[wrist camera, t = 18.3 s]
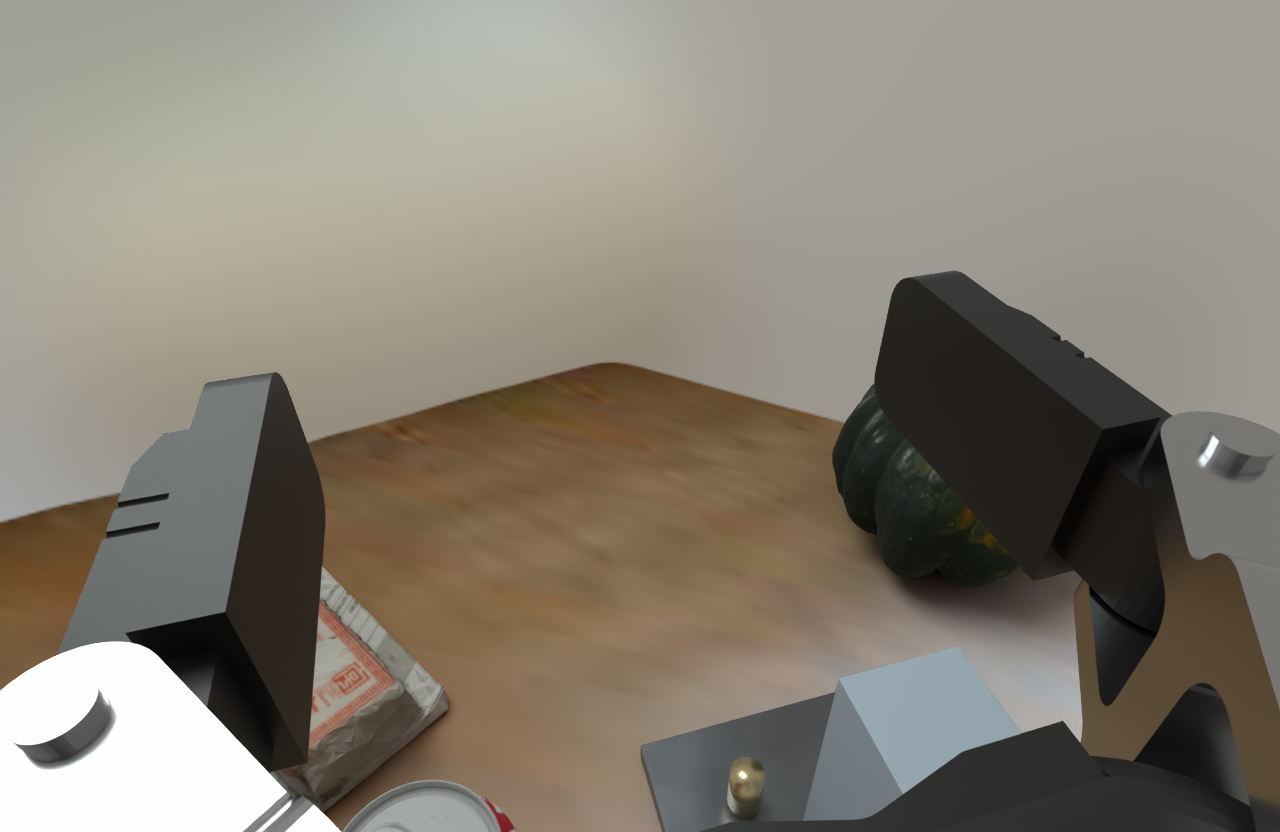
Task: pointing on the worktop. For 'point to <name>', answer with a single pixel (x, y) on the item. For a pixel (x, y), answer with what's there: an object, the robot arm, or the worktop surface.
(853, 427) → the squash
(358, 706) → the packaged product
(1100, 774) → the robot arm
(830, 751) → the block
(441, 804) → the soda can
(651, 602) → the worktop surface
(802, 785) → the plate
